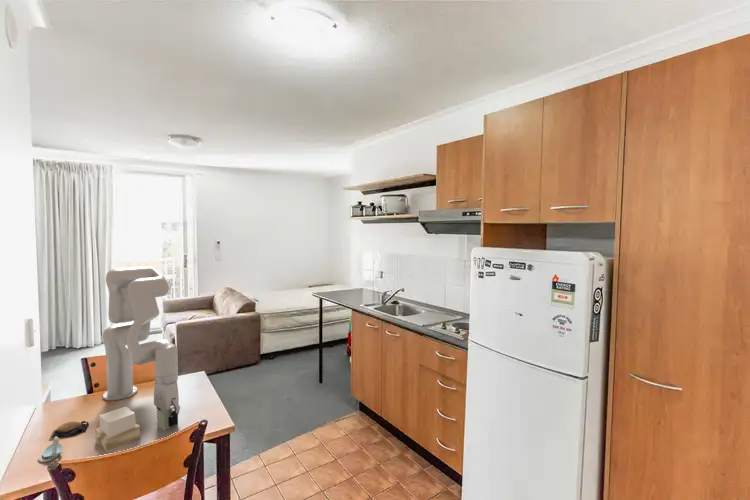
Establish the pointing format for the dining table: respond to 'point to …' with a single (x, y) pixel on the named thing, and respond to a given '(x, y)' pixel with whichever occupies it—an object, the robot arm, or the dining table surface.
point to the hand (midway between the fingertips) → (167, 421)
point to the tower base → (117, 438)
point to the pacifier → (51, 451)
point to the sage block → (163, 419)
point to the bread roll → (69, 429)
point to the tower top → (117, 421)
